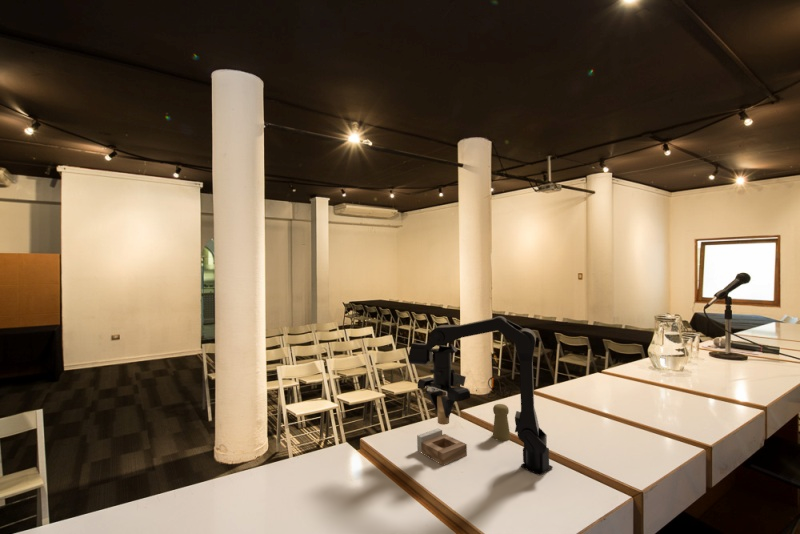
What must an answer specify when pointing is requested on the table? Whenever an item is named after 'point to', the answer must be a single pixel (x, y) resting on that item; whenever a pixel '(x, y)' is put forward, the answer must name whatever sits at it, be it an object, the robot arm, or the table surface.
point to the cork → (501, 423)
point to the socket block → (444, 449)
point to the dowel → (441, 411)
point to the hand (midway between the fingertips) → (443, 415)
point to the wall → (427, 437)
